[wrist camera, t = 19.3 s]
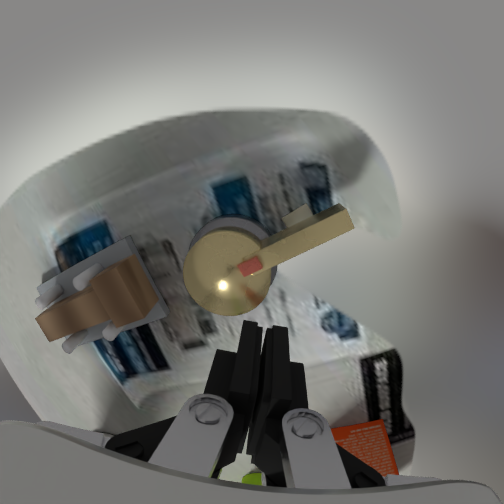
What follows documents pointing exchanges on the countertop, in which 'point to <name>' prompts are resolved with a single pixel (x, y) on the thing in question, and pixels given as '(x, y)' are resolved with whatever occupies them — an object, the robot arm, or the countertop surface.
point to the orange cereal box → (368, 445)
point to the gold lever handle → (251, 260)
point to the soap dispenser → (252, 479)
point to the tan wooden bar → (102, 301)
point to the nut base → (253, 226)
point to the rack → (79, 280)
